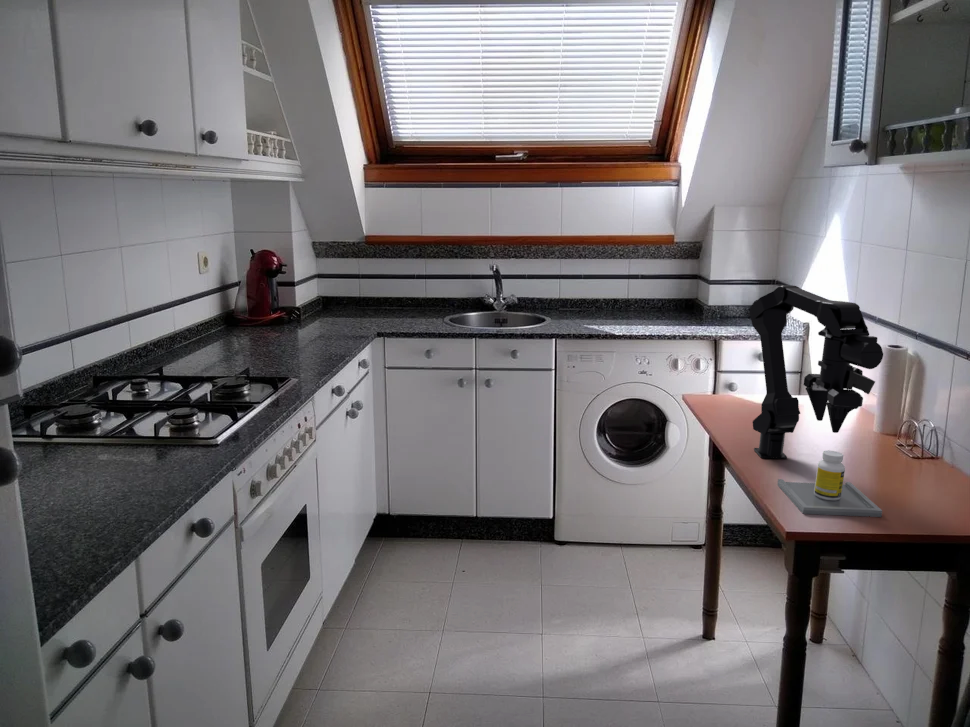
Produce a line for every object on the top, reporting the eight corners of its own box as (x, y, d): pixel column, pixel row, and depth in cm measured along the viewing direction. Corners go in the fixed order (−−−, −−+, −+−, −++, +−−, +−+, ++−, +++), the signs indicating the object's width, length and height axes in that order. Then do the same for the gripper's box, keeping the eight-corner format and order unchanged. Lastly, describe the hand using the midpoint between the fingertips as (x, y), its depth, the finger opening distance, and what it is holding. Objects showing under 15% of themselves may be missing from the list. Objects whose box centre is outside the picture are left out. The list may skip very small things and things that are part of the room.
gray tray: (777, 484, 179) (778, 479, 179) (849, 487, 179) (849, 482, 179) (802, 513, 164) (803, 507, 163) (881, 517, 163) (882, 510, 163)
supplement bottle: (842, 502, 168) (848, 458, 166) (814, 499, 170) (820, 455, 167) (839, 493, 173) (845, 451, 171) (812, 490, 175) (818, 447, 172)
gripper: (892, 369, 167) (881, 440, 171) (855, 351, 185) (846, 416, 189) (838, 367, 168) (829, 438, 171) (806, 349, 186) (798, 414, 189)
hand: (827, 426), depth 180 cm, fingers open, 9 cm apart
